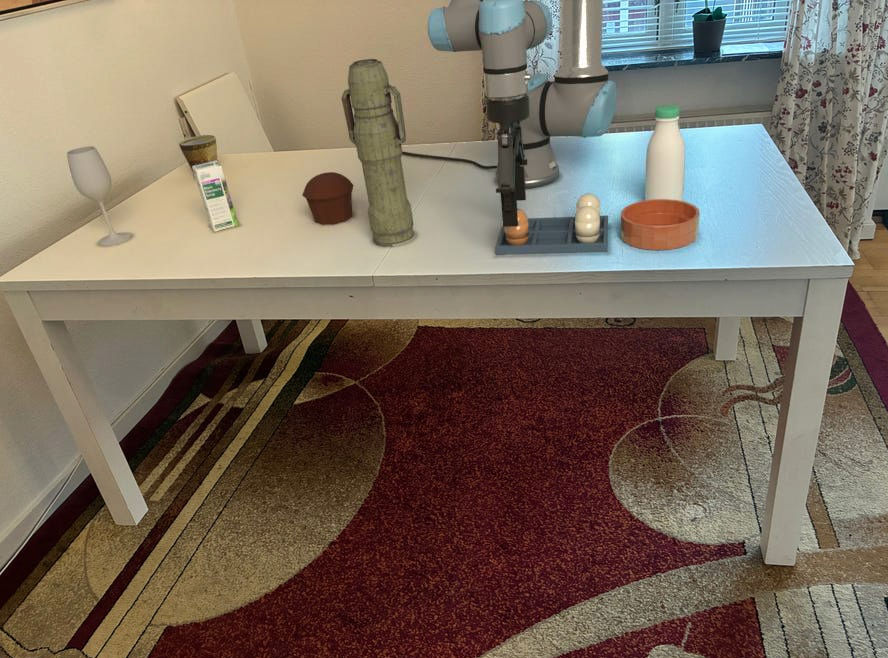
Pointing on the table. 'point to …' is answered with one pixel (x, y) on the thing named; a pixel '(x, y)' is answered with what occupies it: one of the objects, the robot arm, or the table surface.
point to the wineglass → (93, 184)
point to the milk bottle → (665, 157)
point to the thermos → (379, 149)
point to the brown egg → (518, 230)
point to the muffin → (329, 198)
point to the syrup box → (215, 195)
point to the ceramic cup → (199, 149)
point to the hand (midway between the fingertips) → (514, 212)
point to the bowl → (659, 224)
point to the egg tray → (554, 238)
